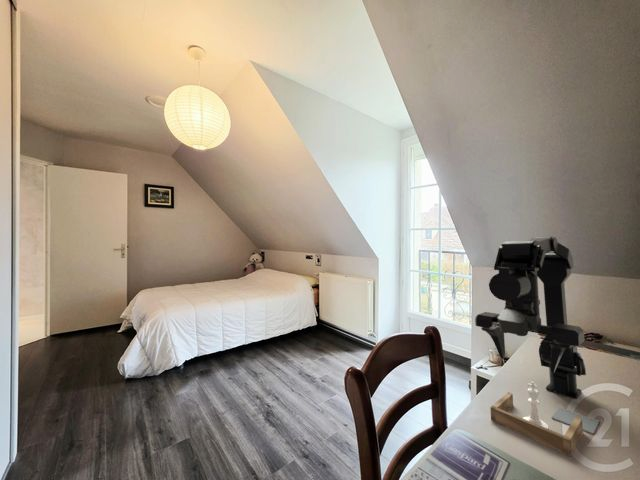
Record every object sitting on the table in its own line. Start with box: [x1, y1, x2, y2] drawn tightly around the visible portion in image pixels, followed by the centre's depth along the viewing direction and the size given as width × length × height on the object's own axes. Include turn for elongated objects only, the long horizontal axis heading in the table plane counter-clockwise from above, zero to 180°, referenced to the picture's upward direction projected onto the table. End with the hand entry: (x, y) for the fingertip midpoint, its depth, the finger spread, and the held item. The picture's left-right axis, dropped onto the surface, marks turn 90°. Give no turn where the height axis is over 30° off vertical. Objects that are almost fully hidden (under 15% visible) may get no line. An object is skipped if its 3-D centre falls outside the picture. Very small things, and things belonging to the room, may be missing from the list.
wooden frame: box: [490, 392, 584, 457], centre depth 60 cm, size 11×14×3 cm
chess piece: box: [522, 381, 549, 429], centre depth 60 cm, size 5×5×10 cm
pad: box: [551, 406, 600, 435], centre depth 62 cm, size 7×7×1 cm
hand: (526, 365), depth 59 cm, fingers open, 9 cm apart
